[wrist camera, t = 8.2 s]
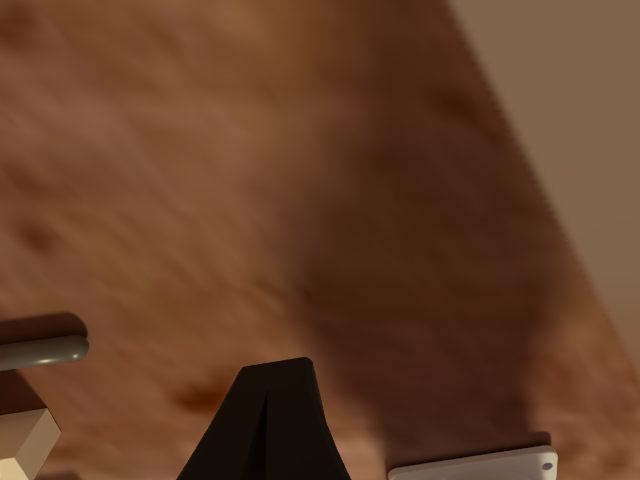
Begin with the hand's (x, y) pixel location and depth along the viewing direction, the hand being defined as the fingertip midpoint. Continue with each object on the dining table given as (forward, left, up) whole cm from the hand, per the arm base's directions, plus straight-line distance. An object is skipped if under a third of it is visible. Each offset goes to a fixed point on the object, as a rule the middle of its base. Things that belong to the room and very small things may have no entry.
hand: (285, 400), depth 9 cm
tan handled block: (-3, +13, -8) cm, 16 cm away
